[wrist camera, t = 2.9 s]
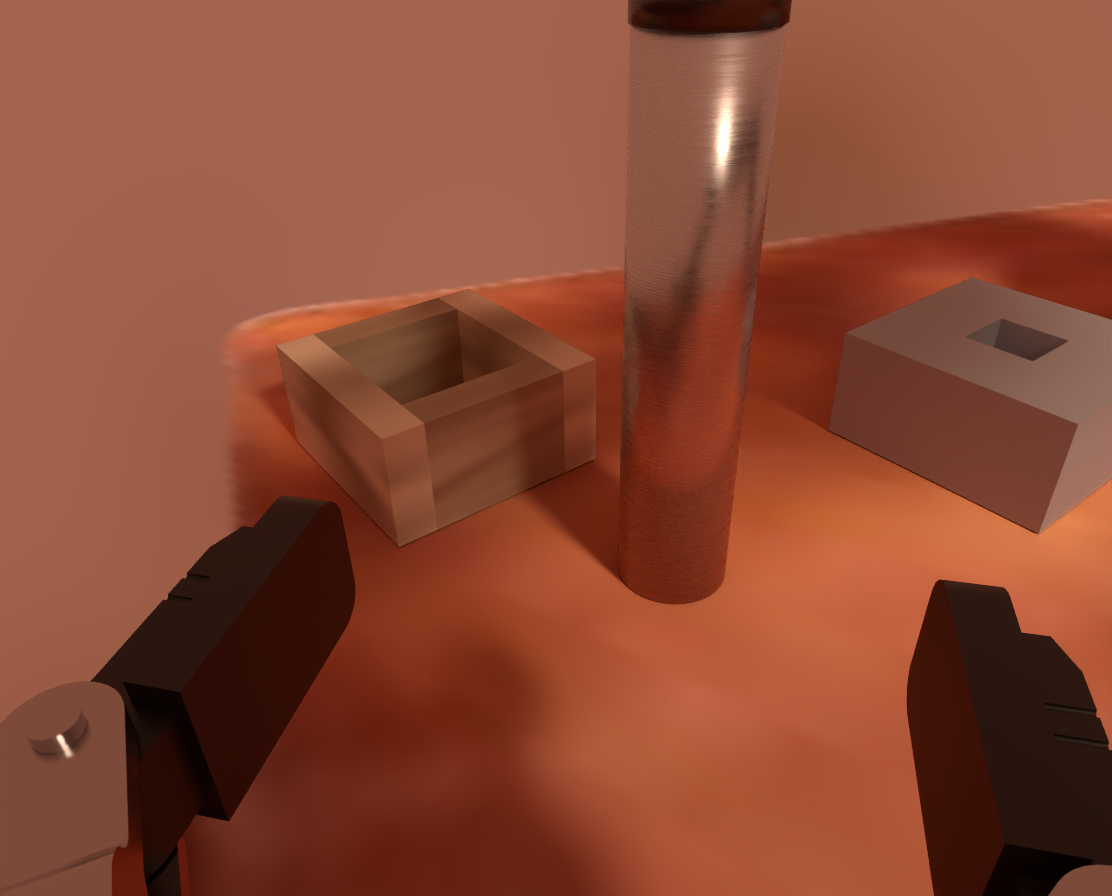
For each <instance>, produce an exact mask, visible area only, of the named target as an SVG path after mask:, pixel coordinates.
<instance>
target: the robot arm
mask: <svg viewBox="0 0 1112 896" xmlns="http://www.w3.org/2000/svg"><path fill="white" fill-rule="evenodd" d="M354 601H355V581H354V576H353V571H352V565H351V560H350V555H349V550H348V545H347V540H346V535H345V530H344V525H343V520H342V515H341V511H340V509H339V507H338V506H337V504H335V503H334V502H330V501H322V500H313V499H305V498H297V497H289V496H283V497H280V498H279V499H277V500H276V501H275V502H274V503H273V504H272V505H271V507H270V508H269V509H268V510H267V511H266V513H265V514H264V515H263V516H262V517H261V518H260V520H259V521H258V522H257V523H256V524H255V526H254V527H253V528H252V527H244V526H243V527H241V528H239V529H238V530H236V531H235V532H233V533H232V534H230V535H228V536H227V537H225V538H224V539H222V540H220V541H219V542H217V543H216V544H214V545H212V546H211V547H210V548H209V549H208V550H207V551H206V552H205V553H204V554H203V555H202V557H201V558H200V559H199V560H198V561H197V562H196V563H195V564H194V566H193V567H192V568H191V569H190V570H189V571H188V572H187V577H186V579H184V578H183V579H181V580H180V581H179V583H178V584H177V585H176V586H175V587H174V588H173V589H172V591H171V592H170V593H169V594H168V599H167V600H163V601H162V602H161V603H160V604H159V605H158V606H157V607H156V609H155V610H154V611H153V612H152V613H151V614H150V615H149V616H148V617H147V619H146V620H145V621H144V622H143V623H142V624H141V625H140V626H139V628H138V629H137V630H136V631H135V632H134V633H133V634H132V635H131V637H130V638H129V639H128V640H127V641H126V642H125V643H124V645H123V646H122V647H121V648H120V649H119V650H118V651H117V652H116V654H115V655H114V656H113V657H112V658H111V659H110V660H109V661H108V663H107V664H106V665H105V666H104V667H103V668H102V669H101V670H100V672H99V673H98V674H97V675H96V676H95V677H94V678H93V679H92V680H91V681H90V682H76V683H70V684H66V685H62V686H58V687H55V688H53V689H50V690H47V691H45V692H43V693H41V694H39V695H37V696H35V697H33V698H32V699H30V700H28V701H27V702H25V703H24V704H22V705H21V706H20V707H18V708H17V709H16V710H14V711H13V712H12V713H11V714H10V715H9V716H8V717H7V718H6V719H5V720H4V721H3V722H2V723H1V724H0V896H190V886H189V875H188V864H187V854H186V847H185V842H184V840H183V838H182V835H183V834H184V832H185V831H186V829H187V828H188V826H189V824H190V823H191V821H192V820H193V818H194V817H195V815H201V816H206V817H211V818H215V819H220V820H225V821H230V819H231V817H232V816H233V814H234V812H235V811H236V809H237V807H238V806H239V804H240V802H241V801H242V799H243V797H244V796H245V794H246V793H247V791H248V789H249V788H250V786H251V784H252V783H253V781H254V779H255V778H256V776H257V774H258V773H259V771H260V769H261V768H262V766H263V764H264V763H265V761H266V759H267V758H268V756H269V754H270V753H271V751H272V749H273V748H274V746H275V744H276V743H277V741H278V739H279V738H280V736H281V734H282V733H283V731H284V730H285V728H286V726H287V725H288V723H289V721H290V720H291V718H292V716H293V715H294V713H295V711H296V710H297V708H298V706H299V705H300V703H301V701H302V700H303V698H304V696H305V695H306V693H307V691H308V690H309V688H310V686H311V685H312V683H313V681H314V680H315V678H316V676H317V675H318V673H319V671H320V670H321V668H322V667H323V665H324V663H325V662H326V660H327V658H328V657H329V655H330V653H331V652H332V650H333V648H334V647H335V645H336V643H337V642H338V640H339V638H340V637H341V635H342V633H343V632H344V630H345V628H346V626H347V625H348V622H349V620H350V617H351V614H352V611H353V607H354ZM1096 711H1097V709H1096V707H1095V704H1094V701H1093V699H1092V696H1091V694H1090V691H1089V688H1088V686H1087V683H1086V681H1085V678H1084V675H1083V673H1082V671H1081V670H1080V669H1079V668H1078V667H1077V666H1076V664H1075V663H1074V662H1073V661H1072V660H1071V659H1070V658H1069V657H1068V656H1067V654H1066V653H1065V652H1064V651H1063V650H1062V649H1061V648H1060V647H1059V645H1058V644H1057V643H1056V642H1055V641H1054V640H1053V639H1052V638H1051V637H1050V636H1043V635H1036V634H1028V633H1021V630H1020V627H1019V623H1018V620H1017V617H1016V614H1015V611H1014V608H1013V605H1012V601H1011V598H1010V596H1009V593H1008V592H1007V590H1006V589H1005V588H1003V587H996V586H988V585H980V584H972V583H964V582H956V581H948V580H938V581H937V582H936V583H935V585H934V587H933V590H932V593H931V596H930V599H929V603H928V606H927V610H926V613H925V617H924V620H923V623H922V627H921V630H920V634H919V637H918V641H917V644H916V648H915V651H914V655H913V658H912V662H911V665H910V670H909V676H908V684H907V715H908V722H909V729H910V736H911V743H912V749H913V756H914V763H915V770H916V776H917V783H918V790H919V797H920V804H921V810H922V817H923V824H924V831H925V837H926V844H927V851H928V858H929V865H930V871H931V878H932V885H933V892H934V896H1112V750H1109V748H1108V744H1109V741H1108V738H1107V736H1106V733H1105V730H1104V728H1103V725H1102V722H1101V720H1100V718H1097V717H1096Z"/></svg>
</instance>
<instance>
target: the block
mask: <svg viewBox="0 0 1112 896" xmlns="http://www.w3.org/2000/svg"><path fill="white" fill-rule="evenodd" d="M828 430H829V431H831V432H833V433H836V434H838V435H840V436H842V437H844V438H846V439H848V440H850V441H852V442H854V443H856V444H858V445H860V446H862V447H864V448H866V449H868V450H870V451H872V452H874V453H876V454H878V455H880V456H882V457H884V458H886V459H888V460H890V461H892V462H894V463H896V464H898V465H900V466H902V467H904V468H906V469H908V470H910V471H912V472H914V473H916V474H918V475H921V476H923V477H925V478H927V479H929V480H931V481H933V482H935V483H937V484H939V485H941V486H943V487H945V488H947V489H949V490H951V491H953V492H955V493H957V494H959V495H961V496H963V497H965V498H967V499H969V500H971V501H973V502H975V503H977V504H979V505H981V506H983V507H985V508H987V509H989V510H991V511H993V512H995V513H997V514H999V515H1001V516H1003V517H1005V518H1008V519H1010V520H1012V521H1014V522H1016V523H1018V524H1020V525H1022V526H1024V527H1026V528H1028V529H1030V530H1032V531H1034V532H1036V533H1038V534H1039V533H1041V532H1042V531H1043V530H1044V529H1046V528H1047V527H1048V526H1050V525H1051V524H1052V523H1054V522H1055V521H1056V520H1058V519H1059V518H1060V517H1061V516H1063V515H1064V514H1065V513H1067V512H1068V511H1069V510H1071V509H1072V508H1073V507H1075V506H1076V505H1077V504H1079V503H1080V502H1081V501H1082V500H1084V499H1085V498H1086V497H1088V496H1089V495H1090V494H1092V493H1093V492H1094V491H1096V490H1097V489H1098V488H1100V487H1101V486H1102V485H1103V484H1105V483H1106V482H1107V481H1109V480H1110V479H1111V478H1112V320H1111V319H1107V318H1104V317H1101V316H1098V315H1094V314H1091V313H1088V312H1084V311H1081V310H1078V309H1075V308H1071V307H1068V306H1065V305H1061V304H1058V303H1055V302H1051V301H1048V300H1045V299H1042V298H1038V297H1035V296H1032V295H1028V294H1025V293H1022V292H1019V291H1015V290H1012V289H1009V288H1005V287H1002V286H999V285H996V284H992V283H989V282H986V281H982V280H979V279H976V278H973V277H971V278H969V279H967V280H965V281H962V282H960V283H958V284H955V285H953V286H951V287H949V288H946V289H944V290H942V291H939V292H937V293H935V294H933V295H930V296H928V297H926V298H923V299H921V300H919V301H917V302H914V303H912V304H910V305H907V306H905V307H903V308H901V309H898V310H896V311H894V312H891V313H889V314H887V315H885V316H882V317H880V318H878V319H875V320H873V321H871V322H869V323H866V324H864V325H862V326H859V327H857V328H855V329H853V330H850V331H848V332H846V333H845V338H844V344H843V349H842V355H841V361H840V366H839V372H838V378H837V383H836V389H835V395H834V400H833V406H832V412H831V417H830V423H829V429H828Z"/></svg>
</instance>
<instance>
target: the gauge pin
mask: <svg viewBox="0 0 1112 896" xmlns="http://www.w3.org/2000/svg"><path fill="white" fill-rule="evenodd" d="M791 3H792V0H628V23H629V24H630V53H629V98H628V144H627V145H628V146H627V148H628V149H627V187H626V188H627V189H626V233H625V235H626V236H625V276H624V320H623V365H622V409H621V454H620V498H619V543H618V571H619V574H620V577H621V579H622V580H623V582H624V583H625V584H626V585H627V586H628V587H629V588H630V589H631V590H632V591H634V592H635V593H637V594H638V595H640V596H642V597H644V598H647V599H649V600H652V601H656V602H660V603H667V604H686V603H692V602H696V601H699V600H702V599H704V598H706V597H708V596H710V595H711V594H713V593H714V592H715V591H716V590H717V589H718V588H719V587H720V586H721V584H722V582H723V580H724V577H725V569H726V560H727V551H728V543H729V534H730V525H731V516H732V507H733V498H734V489H735V480H736V471H737V462H738V453H739V444H740V435H741V427H742V418H743V409H744V400H745V391H746V382H747V373H748V364H749V355H750V346H751V337H752V328H753V319H754V310H755V302H756V293H757V284H758V275H759V266H760V257H761V248H762V239H763V230H764V221H765V212H766V203H767V194H768V186H769V176H770V168H771V159H772V150H773V141H774V132H775V123H776V114H777V105H778V96H779V87H780V78H781V69H782V61H783V51H784V42H785V34H786V25H787V23H788V22H789V21H790V12H791Z"/></svg>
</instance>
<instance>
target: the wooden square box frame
mask: <svg viewBox="0 0 1112 896" xmlns="http://www.w3.org/2000/svg"><path fill="white" fill-rule="evenodd" d="M276 347H277V352H278V357H279V361H280V366H281V370H282V375H283V379H284V384H285V388H286V393H287V397H288V402H289V406H290V411H291V415H292V420H293V424H294V429H295V433H296V438H297V442H298V443H299V444H300V445H301V446H302V447H303V448H304V449H305V450H306V451H307V452H308V453H309V454H310V455H311V456H312V457H313V458H314V459H315V460H316V461H317V463H318V464H319V465H320V466H321V467H322V468H323V469H324V470H325V471H326V472H327V473H328V474H329V475H330V476H331V477H332V478H333V479H334V480H335V481H336V482H337V483H338V484H339V485H340V486H341V488H342V489H343V490H344V491H345V492H346V493H347V494H348V495H349V496H350V497H351V498H352V499H353V500H354V501H355V502H356V503H357V504H358V505H359V506H360V507H361V508H362V509H363V510H364V511H365V513H366V514H367V515H368V516H369V517H370V518H371V519H372V520H373V521H374V522H375V523H376V524H377V525H378V526H379V527H380V528H381V529H382V530H383V531H384V532H385V533H386V534H387V535H388V536H389V538H390V539H391V540H392V541H393V542H394V543H395V544H396V545H397V546H398V547H400V546H402V545H405V544H407V543H409V542H411V541H414V540H416V539H418V538H420V537H422V536H425V535H427V534H429V533H431V532H434V531H436V530H438V529H440V528H442V527H445V526H447V525H449V524H451V523H454V522H456V521H458V520H460V519H462V518H465V517H467V516H469V515H471V514H474V513H476V512H478V511H480V510H482V509H485V508H487V507H489V506H491V505H494V504H496V503H498V502H500V501H502V500H505V499H507V498H509V497H511V496H514V495H516V494H518V493H520V492H522V491H525V490H527V489H529V488H531V487H534V486H536V485H538V484H540V483H542V482H545V481H547V480H549V479H551V478H554V477H556V476H558V475H560V474H562V473H565V472H567V471H569V470H571V469H574V468H576V467H578V466H580V465H582V464H585V463H587V462H589V461H591V460H594V459H596V359H595V358H594V357H592V356H590V355H588V354H586V353H585V352H583V351H581V350H579V349H577V348H575V347H574V346H572V345H570V344H568V343H566V342H564V341H563V340H561V339H559V338H557V337H555V336H554V335H552V334H550V333H548V332H546V331H544V330H543V329H541V328H539V327H537V326H535V325H534V324H532V323H530V322H528V321H526V320H524V319H523V318H521V317H519V316H517V315H515V314H513V313H512V312H510V311H508V310H506V309H504V308H503V307H501V306H499V305H497V304H495V303H493V302H492V301H490V300H488V299H486V298H484V297H483V296H481V295H479V294H477V293H475V292H473V291H472V290H470V289H467V290H463V291H460V292H457V293H453V294H450V295H446V296H443V297H439V298H436V299H433V300H429V301H426V302H422V303H419V304H416V305H412V306H409V307H405V308H402V309H399V310H395V311H392V312H388V313H385V314H382V315H378V316H375V317H371V318H368V319H365V320H361V321H358V322H354V323H351V324H347V325H344V326H341V327H337V328H334V329H330V330H327V331H324V332H320V333H317V334H313V335H310V336H307V337H303V338H300V339H296V340H293V341H290V342H286V343H283V344H279V345H276Z"/></svg>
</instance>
